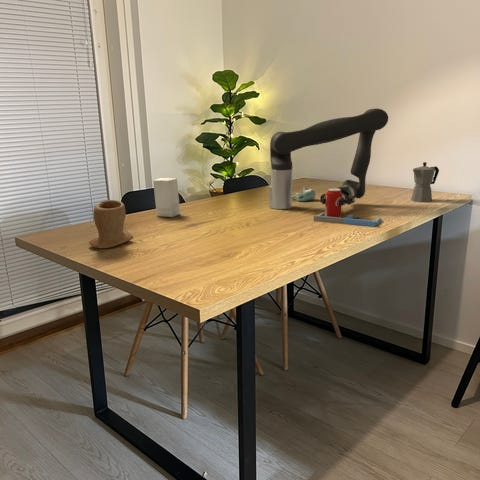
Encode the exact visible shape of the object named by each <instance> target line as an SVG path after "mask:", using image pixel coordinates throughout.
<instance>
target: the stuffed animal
mask: <svg viewBox="0 0 480 480" xmlns="http://www.w3.org/2000/svg"><path fill="white" fill-rule="evenodd" d="M302 189H303V190H302V193H300V192H296V193H295V194H294V195H293V194H292V200H293V199H295V200H296V201H297V202H300V201H301V203H305V202H306V201H310V200H311V201H313V200H314V199H316V192H315V190H314V189H313V188H307V187H306V186H303V187H302Z"/></svg>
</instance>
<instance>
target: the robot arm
mask: <svg viewBox="0 0 480 480" xmlns="http://www.w3.org/2000/svg"><path fill="white" fill-rule="evenodd" d="M388 122H389V115H388V113H387V112H386V111H385V110H384V109H382V108H369V109H366V111H364V112H363V113H362V114H358V115H355V116H348V117H337V118H332V119H328V120H324V121H320V122H317V123H315V124H313V125H311V126H308V127H307V128H304V129H299V130H295V131H294V130H293V131H290V132H289V131H287V132H286V131H277V132H275V133H274V134H273V135H271V137H270V141H269V142H270V143H269V144H270V146H269V150H270V151H269V155H270V164H271V165H270V166H271V168H270V169H271V172H270V173H271V174H270V175H271V177H270V178H271V184H270V186H269V209H270V208H271V209H274V210H289V209H292V207H293V203H292V202H293V199H292V195H293V161H292V157H291V156H292V154H291V153H292V152H295V151H297V150H300V149H302V148H307V147H312V146H317V145H323V144H327V143H331V142H335V141H339V140H342V139H345V138H348V137H351V136H353V135H357V134H359V136H358V141H357V146H356V150H355V154H354V157H353V161H352V164H351V168H350V174H351V175H352V176H354V177H356V178H358V179H357V180H358V181H356V180H352V179H345V180H344V181H343V182H342V185H341V186H339V187H337V188H338V189H340V191H341V192H342V199H340V200H339V205H340V206H341V207H342V206H345V205H352V204H354V203H355V202H356V199H362V198H363V197H364V196H365V194H366V177H367V173H368V169H369V165H370V162H371V159H372V158H371V157H372V155H371V154H372V144H373V143H372V142H373V140H374V139H373V138H374V135H375V133H376V131H380V130H382V129H383V128H385V127H386V126H387V124H388ZM319 201H320V203H321V204H322V205H325V201H326V193H322V194H321V195H320V200H319Z"/></svg>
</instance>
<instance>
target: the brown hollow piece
mask: <svg viewBox="0 0 480 480" xmlns="http://www.w3.org/2000/svg"><path fill="white" fill-rule="evenodd" d="M126 214H127V212H126V207H125V204H124V203H123V202H122V201H120V200H117V199H108V200H107V199H106V200H103V201H100V202H99V203H97V204H95V206H94V207H93V221H94V225H95V227H96V229H97V234H98V237H95V238H93V239H90V240H89V241H88V245H90V246H91V247H94V248H99V249H107V248H108V249H109V248H112V247H116V246H119V245H121V244H123V243H126V242H128V241H132V240H133V239H134V235H132V234H131V232H129V230H127V229H124V224H125V219H126Z"/></svg>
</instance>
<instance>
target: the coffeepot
mask: <svg viewBox="0 0 480 480" xmlns="http://www.w3.org/2000/svg"><path fill="white" fill-rule="evenodd" d="M427 163H428V162H426V161H425V162H422V165H423V166H419V167H418V166H417V167H414V168H413V169H412V172H413V179H414V183H415V185H414V187H413V191H412V194H411V198H410V200H411V201H412V202H417V203H430V201H431V202H432V201H433V196H432V195H433V194H432V187H431V185H433V184H435V183H436V180H437V178H438V176H439V172H440V169H439V167H438V166H430V167H429V166H427Z"/></svg>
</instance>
